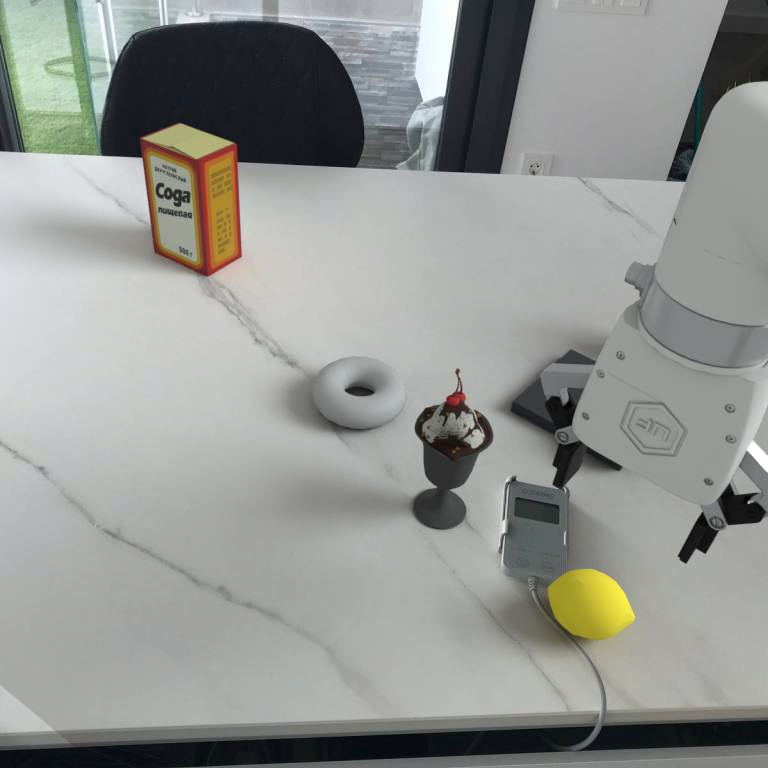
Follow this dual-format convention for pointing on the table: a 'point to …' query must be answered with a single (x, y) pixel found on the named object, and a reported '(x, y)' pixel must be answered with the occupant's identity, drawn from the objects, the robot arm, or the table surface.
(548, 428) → the scale
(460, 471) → the sundae
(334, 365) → the donut
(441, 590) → the table surface
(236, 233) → the baking soda box
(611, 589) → the lemon
